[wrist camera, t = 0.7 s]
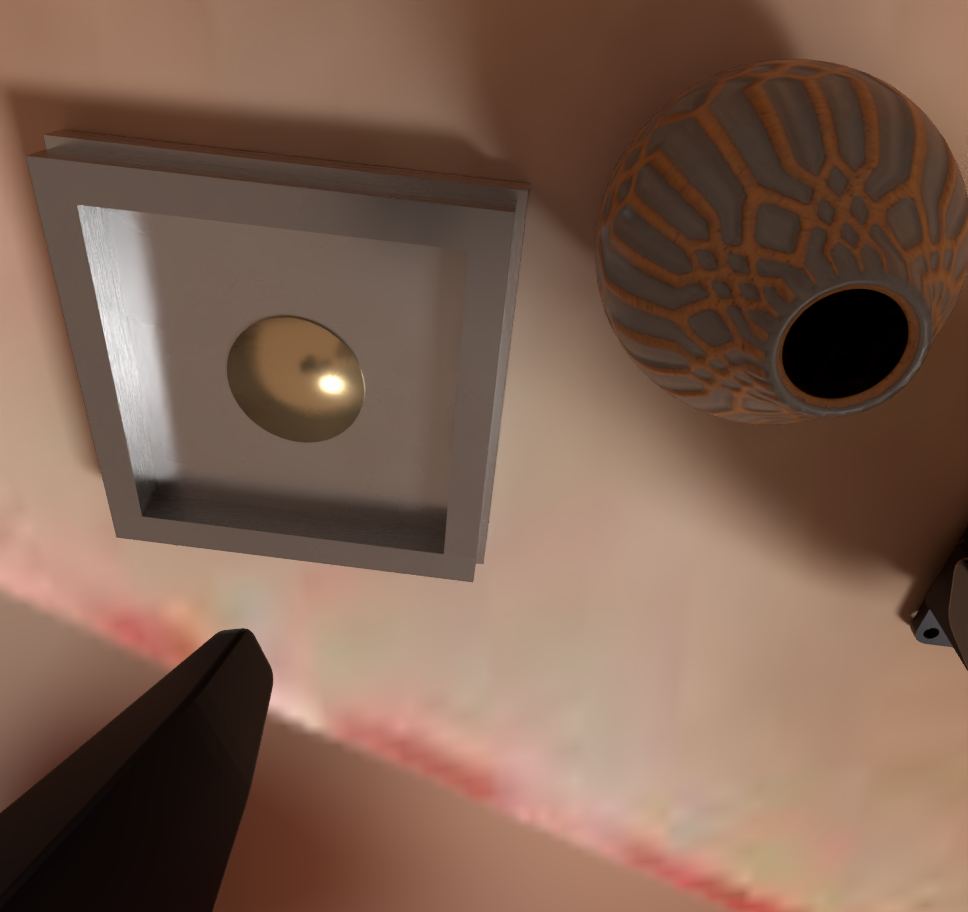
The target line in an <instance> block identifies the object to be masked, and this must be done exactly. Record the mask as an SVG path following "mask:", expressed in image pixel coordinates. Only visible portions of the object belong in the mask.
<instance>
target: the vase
mask: <svg viewBox="0 0 968 912" xmlns="http://www.w3.org/2000/svg"><path fill="white" fill-rule="evenodd" d="M595 257H596V273H597V281H598V286H599V291H600V295H601V299H602V302H603V306H604V309H605V312H606V315H607V318H608V320H609V323H610V325H611V327H612V329H613V331H614V333H615V335H616V336H617V338H618V340H619V341H620V343H621V345H622V346H623V348H624V349H625V351H626V352H627V353H628V355H629V356H630V358H631V359H632V360H633V361H634V362H635V363H636V364H637V366H638V367H639V368H640V369H641V370H642V371H643V372H644V373H645V374H646V375H647V376H648V377H649V378H650V379H651V380H653V381H654V382H655V383H656V384H657V385H659V386H660V387H661V388H662V389H664V390H665V391H666V392H668V393H669V394H671V395H672V396H674V397H675V398H677V399H679V400H680V401H682V402H684V403H686V404H688V405H689V406H691V407H693V408H696V409H698V410H700V411H702V412H705V413H708V414H710V415H714V416H717V417H720V418H723V419H727V420H731V421H736V422H742V423H749V424H790V423H798V422H804V421H809V420H814V419H818V418H822V417H841V416H848V415H852V414H856V413H860V412H863V411H865V410H868V409H870V408H873V407H875V406H877V405H879V404H881V403H883V402H884V401H886V400H887V399H889V398H890V397H892V396H893V395H895V394H896V393H897V392H898V391H900V390H901V389H902V388H903V387H904V386H905V385H906V384H907V383H908V382H909V381H910V380H911V379H912V378H913V376H914V375H915V374H916V373H917V371H918V370H919V368H920V367H921V365H922V363H923V361H924V359H925V357H926V355H927V353H928V350H929V347H930V345H931V344H932V342H933V341H934V340H935V338H936V337H937V335H938V334H939V333H940V331H941V330H942V328H943V326H944V325H945V323H946V321H947V319H948V318H949V316H950V314H951V312H952V310H953V308H954V305H955V303H956V301H957V298H958V296H959V293H960V291H961V288H962V285H963V282H964V279H965V275H966V271H967V266H968V197H967V193H966V189H965V185H964V181H963V178H962V175H961V172H960V170H959V167H958V165H957V163H956V160H955V158H954V156H953V154H952V152H951V150H950V148H949V146H948V145H947V143H946V141H945V139H944V138H943V136H942V135H941V134H940V132H939V131H938V129H937V128H936V127H935V125H934V124H933V122H932V121H931V120H930V119H929V118H928V116H927V115H926V114H925V113H924V112H923V111H922V110H921V109H920V108H919V107H918V106H917V105H916V104H914V103H913V102H912V101H911V100H910V99H909V98H908V97H906V96H905V95H904V94H902V93H901V92H900V91H898V90H897V89H896V88H894V87H893V86H891V85H889V84H888V83H886V82H884V81H882V80H880V79H878V78H876V77H874V76H872V75H870V74H867V73H865V72H862V71H859V70H856V69H853V68H851V67H848V66H844V65H840V64H836V63H831V62H824V61H816V60H807V59H779V60H770V61H762V62H756V63H751V64H746V65H742V66H739V67H735V68H732V69H729V70H726V71H723V72H721V73H718V74H716V75H714V76H711V77H709V78H707V79H705V80H703V81H701V82H699V83H698V84H696V85H694V86H692V87H690V88H689V89H687V90H686V91H684V92H683V93H681V94H680V95H678V96H677V97H676V98H674V99H673V100H672V101H670V102H669V103H668V104H667V105H665V106H664V107H663V108H662V109H661V110H660V111H659V112H657V113H656V114H655V115H654V116H653V117H652V118H651V119H650V120H649V121H648V122H647V123H646V124H645V126H644V127H643V128H642V129H641V130H640V132H639V133H638V134H637V135H636V136H635V138H634V139H633V140H632V142H631V143H630V145H629V146H628V147H627V149H626V151H625V152H624V154H623V155H622V157H621V158H620V160H619V162H618V164H617V166H616V168H615V170H614V172H613V174H612V176H611V178H610V181H609V183H608V186H607V188H606V191H605V194H604V197H603V201H602V204H601V208H600V213H599V218H598V224H597V232H596V245H595Z"/></svg>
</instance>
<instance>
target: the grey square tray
mask: <svg viewBox="0 0 968 912" xmlns="http://www.w3.org/2000/svg"><path fill="white" fill-rule="evenodd" d="M43 136H44V141H45V145H46V150H43V151H40V152H37V153H33V154H30V155H27V156H26V159H27V164H28V168H29V172H30V176H31V180H32V185H33V189H34V193H35V197H36V201H37V206H38V210H39V214H40V218H41V222H42V227H43V231H44V235H45V239H46V243H47V248H48V252H49V256H50V260H51V264H52V269H53V273H54V277H55V281H56V285H57V290H58V294H59V298H60V302H61V306H62V311H63V315H64V319H65V323H66V327H67V331H68V336H69V340H70V344H71V348H72V352H73V357H74V361H75V365H76V369H77V373H78V378H79V382H80V386H81V390H82V394H83V399H84V403H85V407H86V411H87V415H88V420H89V424H90V428H91V432H92V436H93V441H94V445H95V449H96V453H97V457H98V462H99V466H100V470H101V474H102V478H103V483H104V487H105V491H106V495H107V499H108V504H109V508H110V512H111V516H112V520H113V525H114V529H115V533H116V537H117V538H125V539H133V540H141V541H149V542H157V543H165V544H173V545H181V546H189V547H197V548H205V549H213V550H221V551H229V552H237V553H244V554H252V555H260V556H268V557H276V558H284V559H292V560H300V561H308V562H316V563H324V564H332V565H340V566H348V567H356V568H364V569H372V570H380V571H388V572H395V573H403V574H411V575H419V576H427V577H435V578H443V579H451V580H459V581H467V582H473V580H474V573H475V566H476V563H478V564H484V555H485V547H486V539H487V531H488V523H489V514H490V506H491V498H492V490H493V481H494V473H495V465H496V457H497V448H498V440H499V432H500V424H501V415H502V407H503V399H504V391H505V383H506V374H507V366H508V358H509V350H510V341H511V333H512V325H513V317H514V308H515V300H516V292H517V284H518V275H519V267H520V259H521V251H522V242H523V234H524V226H525V218H526V209H527V201H528V193H529V185H530V184H529V183H520V182H511V181H503V180H494V179H485V178H477V177H468V176H459V175H451V174H442V173H433V172H425V171H416V170H407V169H398V168H390V167H381V166H372V165H364V164H355V163H346V162H338V161H329V160H320V159H311V158H303V157H294V156H285V155H277V154H268V153H259V152H251V151H242V150H233V149H224V148H216V147H207V146H198V145H190V144H181V143H172V142H164V141H155V140H146V139H138V138H129V137H120V136H111V135H103V134H94V133H85V132H77V131H68V130H59V131H56V132H52V133H48V134H45V135H43Z"/></svg>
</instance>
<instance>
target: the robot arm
mask: <svg viewBox="0 0 968 912" xmlns="http://www.w3.org/2000/svg"><path fill="white" fill-rule="evenodd" d="M910 627H911V630H912V632H913V634H914V636H915V638H916V639H917V640H918V641H919V642H921V643H925V644H932V645H940V646H948V647H953V648H954V649H955V651H956V653H957V654H958V656H959V657H960V659H961V661H962V662H963V664H964V666H965V667H966V669H967V670H968V527H967V528H966V530H965V532H964V534H963V535H962V537H961V539H960V540H959V542H958V544H957V546H956V547H955V549H954V551H953V552H952V554H951V556H950V557H949V559H948V561H947V563H946V564H945V566H944V568H943V569H942V571H941V573H940V575H939V576H938V578H937V580H936V582H935V583H934V585H933V587H932V588H931V590H930V592H929V594H928V595H927V597H926V599H925V601H924V602H923V604H922V606H921V607H920V609H919V611H918V613H917V614H916V616H915V618H914V619H913V621H912V623H911V626H910ZM929 628H930V629H929ZM927 629H928V630H927ZM272 687H273V673H272V669H271V666H270V664H269V662H268V660H267V659H266V657H265V655H264V653H263V651H262V649H261V647H260V645H259V643H258V641H257V640H256V638H255V636H254V634H253V633H252V632H251V631H250V630H248V629H244V628H242V629H232V630H224V631H220V632H218V633H217V634H215V635H214V636H213V637H212V638H210V639H209V640H208V641H207V642H206V643H204V644H203V645H202V646H201V647H200V648H198V649H197V650H196V651H195V652H194V653H192V654H191V655H190V656H189V657H188V658H186V659H185V660H184V661H183V662H182V663H180V664H179V665H178V666H177V667H176V668H174V669H173V670H172V671H171V672H169V673H168V674H167V675H166V676H165V677H163V678H162V679H161V680H160V681H159V682H157V683H156V684H155V685H154V686H153V687H152V688H150V689H149V690H148V691H147V692H145V693H144V694H143V695H142V696H141V697H139V698H138V699H137V700H136V701H135V702H133V703H132V704H131V705H130V706H129V707H127V708H126V709H125V710H124V711H122V712H121V713H120V714H119V715H118V716H116V717H115V718H114V719H113V720H112V721H110V722H109V723H108V724H107V725H106V726H104V727H103V728H102V729H101V730H100V731H98V732H97V733H96V734H95V735H94V736H92V737H91V738H90V739H89V740H88V741H86V742H85V743H84V744H83V745H81V746H80V747H79V748H78V749H77V750H76V751H74V752H73V753H72V754H71V755H69V756H68V757H67V758H66V759H65V760H63V761H62V762H61V763H60V764H59V765H57V766H56V767H55V768H54V769H53V770H51V771H50V772H49V773H48V774H47V775H45V776H44V777H43V778H42V779H41V780H39V781H38V782H37V783H36V784H35V785H33V786H32V787H31V788H30V789H28V790H27V791H26V792H25V793H24V794H22V795H21V796H20V797H19V798H18V799H17V800H15V801H14V802H13V803H12V804H10V805H9V806H8V807H7V808H6V809H4V810H3V811H2V812H1V813H0V912H213V909H214V906H215V903H216V899H217V896H218V893H219V890H220V887H221V883H222V880H223V877H224V874H225V871H226V867H227V864H228V861H229V858H230V855H231V851H232V849H233V845H234V842H235V839H236V836H237V832H238V829H239V826H240V823H241V820H242V817H243V813H244V810H245V807H246V804H247V800H248V797H249V793H250V789H251V786H252V782H253V778H254V773H255V769H256V764H257V759H258V755H259V749H260V745H261V740H262V735H263V730H264V725H265V721H266V716H267V711H268V706H269V701H270V697H271V692H272Z"/></svg>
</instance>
